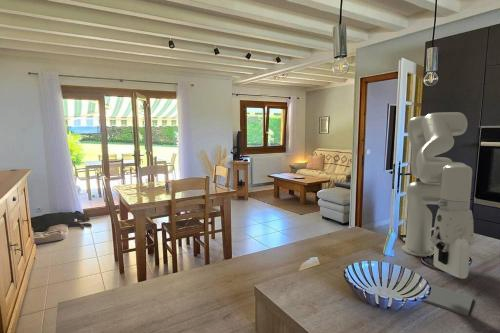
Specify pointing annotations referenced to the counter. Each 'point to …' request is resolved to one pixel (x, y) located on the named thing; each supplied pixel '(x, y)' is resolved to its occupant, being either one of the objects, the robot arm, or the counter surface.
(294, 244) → the counter surface
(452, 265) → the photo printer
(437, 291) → the mat
